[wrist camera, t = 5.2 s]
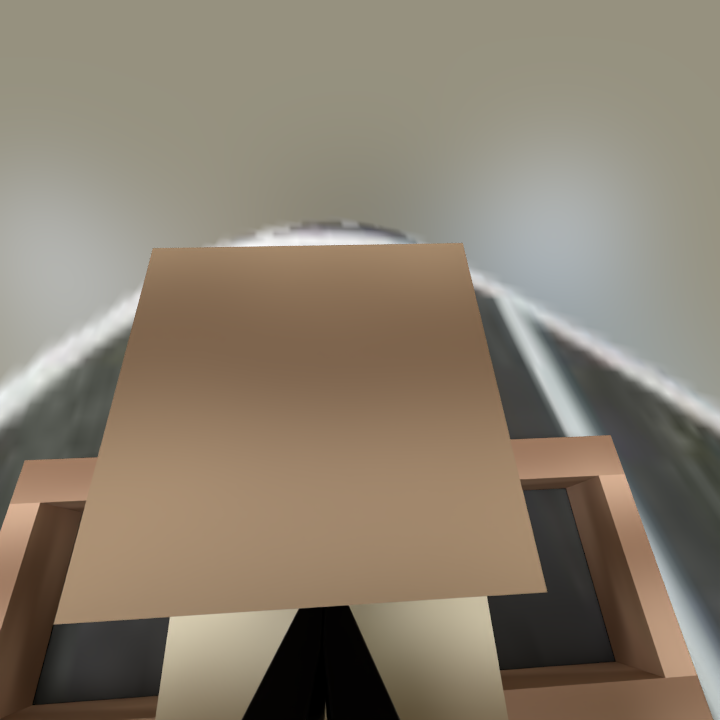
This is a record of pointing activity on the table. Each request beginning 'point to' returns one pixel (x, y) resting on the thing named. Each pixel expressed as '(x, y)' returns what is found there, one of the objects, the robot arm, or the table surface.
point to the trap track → (373, 619)
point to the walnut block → (302, 440)
